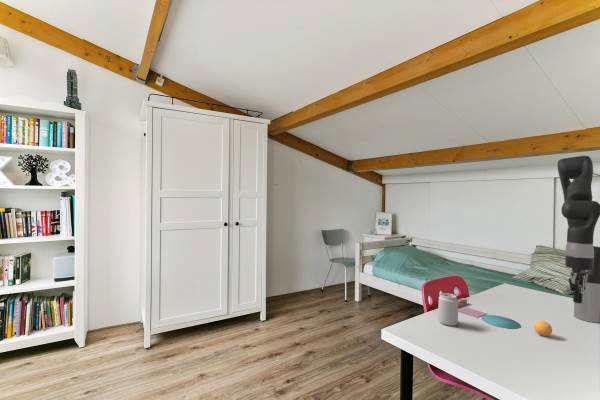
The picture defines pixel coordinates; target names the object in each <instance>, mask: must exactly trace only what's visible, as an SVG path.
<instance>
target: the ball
mask: <svg viewBox="0 0 600 400" xmlns="http://www.w3.org/2000/svg"><path fill="white" fill-rule="evenodd" d="M533 325H534V330H535V332H536V333H537V334H538V335H540V336H542V337H548V336H550V335H552V333H553V328H552V327H553V326H551V325H550V323H548V322H547V321H544V320H538V321H535V323H534V324H533Z"/></svg>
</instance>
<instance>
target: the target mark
mask: <svg viewBox="0 0 600 400" xmlns="http://www.w3.org/2000/svg"><path fill="white" fill-rule="evenodd" d="M481 320H482V321H483V322H485V323H487V324H489V325H491V326H493V327H494V326H495V327H497V328H502V329H513V330H517V329H520V328H521V327H522V326H521V323H520V322H517V321H516V320H514V319H511V318H509V317H505V316H500V315H495V314H486V315H483V316H481Z"/></svg>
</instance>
